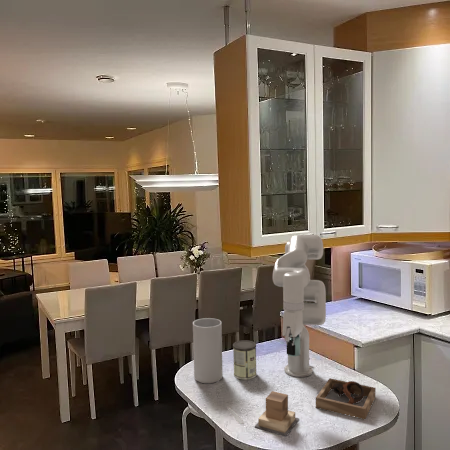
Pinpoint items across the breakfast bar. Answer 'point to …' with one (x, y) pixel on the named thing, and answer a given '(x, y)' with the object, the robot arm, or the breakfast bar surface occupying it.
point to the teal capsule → (296, 346)
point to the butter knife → (236, 416)
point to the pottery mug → (349, 391)
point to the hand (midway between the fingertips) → (293, 351)
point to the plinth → (277, 423)
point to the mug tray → (341, 406)
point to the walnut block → (276, 406)
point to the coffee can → (244, 359)
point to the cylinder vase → (207, 350)
